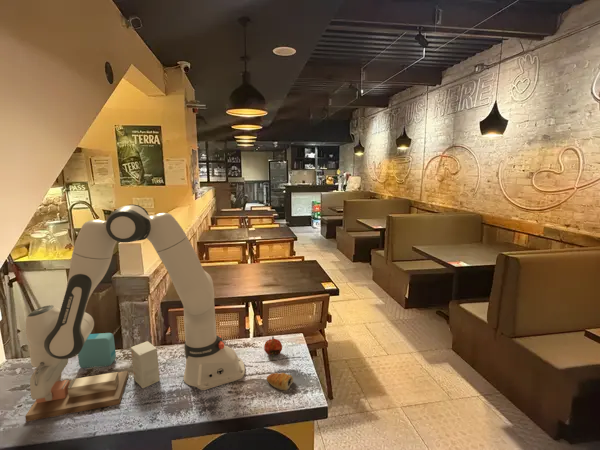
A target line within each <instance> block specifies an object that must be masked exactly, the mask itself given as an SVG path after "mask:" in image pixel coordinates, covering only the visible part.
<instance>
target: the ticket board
mask: <svg viewBox="0 0 600 450" xmlns="http://www.w3.org/2000/svg"><path fill="white" fill-rule="evenodd" d="M128 378H129V370H126V371H115V372H107V373H102V374H96V375H90V376H84V377H79V378H73V379H71V380H70V379H68V380H69V382H70V385H69V387H68V394H67V396H66V397H65V398H63V399H57V400H52V401H46V402H40V403H37V402H36V400H35V401H34V403H33V404H32V405H31V407H30V408H29V410H28V411H27V412H26V414H25V416H24V417H25V422H31V421H37V420H42V419H47V418H54V417H59V416H63V415H68V414H69V415H70V414H73V413H79V412H85V411H90V410H95V409H100V408H105V407H111V406H117V405H120V404H121V401H122V397H123V394H124V391H125V389H126V385H127V381H128Z"/></svg>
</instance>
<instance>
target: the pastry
mask: <svg viewBox="0 0 600 450" xmlns="http://www.w3.org/2000/svg"><path fill="white" fill-rule="evenodd" d="M266 381H267V383H268V384H270V386H272V387H273V388H276V389H277V390H280V391H284V392H286V391H288V390H289V389H290V387H291V386H292V384H293V383H294V377H293V376H292V375H291V374H288V373H285V372H280V373H279V372H274V373H270V374H269V375H268V376H267V377H266Z"/></svg>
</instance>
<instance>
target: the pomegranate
mask: <svg viewBox="0 0 600 450" xmlns="http://www.w3.org/2000/svg"><path fill="white" fill-rule="evenodd" d="M271 337H272V338H271V339H268V340H266V342H265V343H264V346H263V351H264V352H265V353H266V355H269V356H271V355H272V357H271V360H272V361H273V360H274V355H279V354H280V353H281V352H282V350H283V345H282V342H281V341H280V340H279V339H276V338H274V335H273V336H271Z"/></svg>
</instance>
